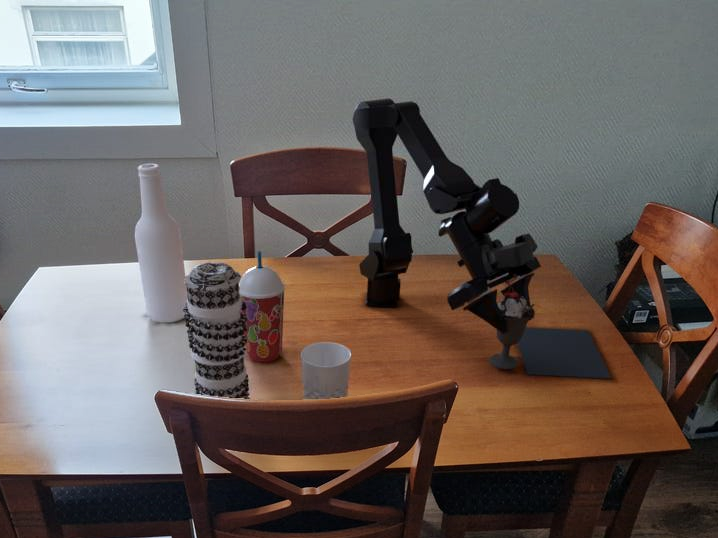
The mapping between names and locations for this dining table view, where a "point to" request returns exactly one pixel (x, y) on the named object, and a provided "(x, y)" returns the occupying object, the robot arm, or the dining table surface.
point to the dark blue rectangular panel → (561, 354)
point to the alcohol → (159, 252)
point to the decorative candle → (217, 330)
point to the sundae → (511, 327)
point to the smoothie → (263, 311)
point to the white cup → (325, 370)
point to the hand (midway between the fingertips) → (518, 326)
